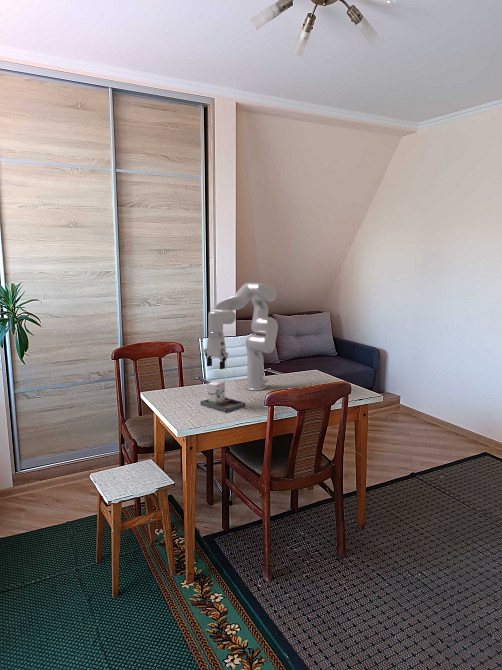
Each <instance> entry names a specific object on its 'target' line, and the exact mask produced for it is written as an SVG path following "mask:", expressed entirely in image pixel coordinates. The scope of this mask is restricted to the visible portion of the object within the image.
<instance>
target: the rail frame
mask: <svg viewBox="0 0 502 670" xmlns="http://www.w3.org/2000/svg"><path fill="white" fill-rule="evenodd" d="M200 406H202V407H206V408H208V409H212V410H216V411H219V412H222V413H225V414H227V413H229V412H233V411H235V410H239V409H242V408H244V407H246V402H244V401H241V400H237V399H233V398H231V397H230V398H229V397H226V396H225V401H223V402H220V403H217V404H211V403H209V398H207V399H203V400H200Z"/></svg>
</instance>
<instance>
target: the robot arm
mask: <svg viewBox="0 0 502 670" xmlns="http://www.w3.org/2000/svg"><path fill="white" fill-rule="evenodd" d="M277 295H278V294H277V290H276V288H275V287H274V286H272V285H268V284H265V283H262V282H245V283H244V284H242V285H241V286H240V288H239V289H238V290H236V292H235V293H234V294H233V295H232V296H230V297H228V298H225V299H224V300H221V301H220V302H218V303H217V304H216V305H214V307H213V308H212V309H211V310H210V311H209V312H208V314H207V315H208V317H207V318H208V319H207V320H208V321H207V322H208V323H207V324H208V327H207V328H208V337H207V341H206V342H207V343H206V348H204V349H203V353H204V356H205V359H206V367H212V366H213V358H218V359H219V369H220V370H224V369H226V361H227V359H228V357H229V353H228V352H227V350H226V347H227V346H226V341H225V337H224V336H225V335H224V325H232V324H233V323H234V322H235V321H236V320H237V315H236V313H235V312H234V311H237V310H240V309H243V308H244V307H245V306H246V305H247V304H248V303H249V301H251V302H252V305H253V314H252V315H253V316H252V319H251V326H250V327H251V331H252V332H253V333H255V334H252V335H249V336H248V337H246V339H245V348H246V355H247V357H246V358H247V368H246V369H247V372H246V373H247V375H246V376H247V378H246V379H247V384H245V386H244V388H245V390H249V391H263V389H264V390H266V389H265V388H267V385H266V383H269V379H267V378H266V379H265V376H264V373H265V372H264V368H265V367H264V366H265V365H264V364H265V363H264V361H265V360H264V355H263V354H272V352H273V351H274V350H275V348H276V347H275V346H276V342H277V341H276V340H277V335H278V330H279V325H278V322H277V320H276V319H275V318H272V317H269V316H268V315H269V306H268V305H267V302H268V303H269V302H270V303H271V302H274V301H275V300H276V299H277ZM256 334H257V335H256ZM259 334H263V335H259ZM212 357H213V358H212Z"/></svg>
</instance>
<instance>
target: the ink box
mask: <svg viewBox="0 0 502 670" xmlns="http://www.w3.org/2000/svg"><path fill="white" fill-rule="evenodd" d="M225 383H226V382H225V381H222V380H219V379H218V380H213V381H211V382H209V383H208V399H209V403H211V404H217V403H220V402H223V401H225V397H226V387H225V386H226V385H225Z"/></svg>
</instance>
